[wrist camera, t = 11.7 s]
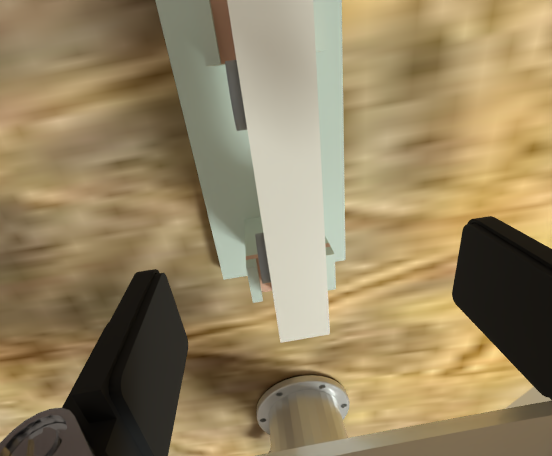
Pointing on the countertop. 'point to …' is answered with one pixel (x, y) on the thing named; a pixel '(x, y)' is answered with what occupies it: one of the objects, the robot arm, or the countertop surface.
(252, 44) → the cream rectangular beam
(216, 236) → the display stand
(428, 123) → the countertop surface
